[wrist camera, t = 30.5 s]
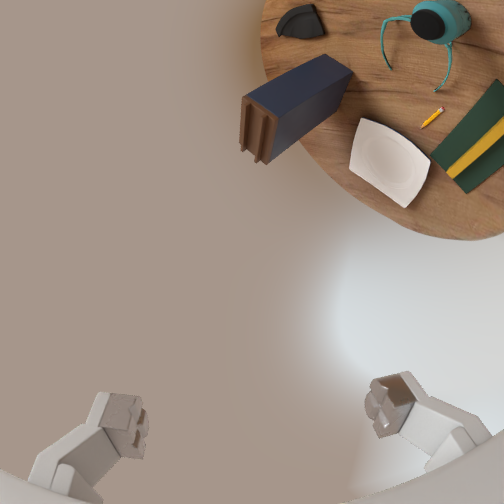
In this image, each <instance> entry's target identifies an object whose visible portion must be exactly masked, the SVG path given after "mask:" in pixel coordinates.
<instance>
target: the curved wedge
mask: <svg viewBox="0 0 504 504" xmlns="http://www.w3.org/2000/svg"><path fill="white" fill-rule="evenodd" d="M276 32H277V34H278V36H279V37H280V36H281V35H286V36H292V37H296V38H299V39H303V38H311V37H316V36H320V35H325V31H324V28H323V25H322V22H321V20H320V18H319V16H318V14H317V12H316V10H315V7H314V4H307V5H303V6H299V7H296V8H293V9H291V10H290V11H288V12H287V13H286V14H285V15H284V16H283V17H282V18H281V19H280V21H279V23H278V25H277V27H276Z"/></svg>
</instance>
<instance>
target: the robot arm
mask: <svg viewBox="0 0 504 504" xmlns="http://www.w3.org/2000/svg"><path fill="white" fill-rule="evenodd" d="M370 388H371V391H370V392H369V393H368V394H367V396H366V399H365V410H366V413H367V415H368V417H369V418H370V419H372V420H374V423H373V427H374V429H375V431H376V433H377V435H378V437H379V438H382V437H386V436H390V435H393V434H397V433H399V435H400V436H402V437H403V438H405V439H406V440H408V441H409V442H410V443H412V444H413V445H415V446H416V447H418V448H419V449H421V450H422V451H424V452H425V453H427V454H428V455H430V456H431V458H430V460H429V461H428V462H427V463H426V465H425V467H424V469H425V471H426V474H424V475H422V476H420V477H417V478H415V479H412V480H410V481H408V482H405V483H402V484H400V485H397V486H395V487H392V488H390V489H386V490H384V491H381V492H378V493H375V494H372V495H368V496H365V497H362V498H359V499H355V500H351V501H348V502H344V503H340V504H504V429H503V430H502V431H500V432H499V433H498V434H496V435H494V436H492V435H491V434H490V432H489V431H488V430H487V428H486V427H485V426H484V424H483V423H482V422H481V420H480V419H479V418H478V417H477V416H476V415H473V414H471V413H469V412H466V411H464V410H461V409H459V408H457V407H455V406H452V405H450V404H448V403H445V402H443V401H441V400H439V399H437V398H434V397H428V395H427V394H426V392H425V391H424V390H423V388H422V387H421V386H420V384H419V383H418V382H417V380H416V379H415V378H414V376H413V375H412V374H411V372H409V371H405V372H401V373H397V374H393V375H389V376H385V377H381V378H376V379H373V381H372V382H371V384H370ZM142 405H143V402H142V400H141V397H139V396H133V395H123V394H115V393H107V392H99V393H98V394H97V396H96V398H95V401H94V403H93V405H92V408H91V411H90V413H89V416H88V418H87V421H86V423H85V424H81V425H79V426H78V427H77V428H75V429H74V430H72V431H71V432H70V433H68V434H67V435H65V436H64V437H63V438H61V439H60V440H58V441H57V442H55V443H54V444H52V445H51V446H49V447H48V448H47V449H45V450H44V451H42V452H41V453H39V454H38V456H37V458H36V461H35V463H34V466H33V468H32V471H31V474H30V476H29V478H28V481H25V480H23V479H20V478H19V477H16V476H14V475H12V474H10V473H8V472H6V471H4V470H2V469H0V504H103V498H102V497H101V496H100V495H99V494H98V493H97V492H96V491H95V490H94V489H93V488H92V487H93V486H94V485H95V484H96V483H97V482H98V481H99V480H100V479H101V478H102V477H103V476H104V475H105V474H106V473H107V472H108V471H109V470H110V469H111V468H112V467H113V466H114V464H116V463H117V462H118V460H119V459H120V458H121V457H127V458H136V459H143V457H144V451H145V446H146V444H145V442H144V440H143V438H145V437H146V436H147V435H148V429H149V428H148V427H149V421H148V416H147V413H146V411H145V410H144V409H142Z"/></svg>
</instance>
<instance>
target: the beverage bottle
mask: <svg viewBox="0 0 504 504" xmlns="http://www.w3.org/2000/svg"><path fill="white" fill-rule="evenodd" d="M471 20H472V19H471V18H470V14H469V13H468V11H467V10H466V9H465V7H464V6H462V4H460V3H458V2H456V1H453V0H438V1H436V0H435V1H423V2H420V3H419V4H417V5H416V6H415V8H414V10H413V13H412V16H411V20H410V23H411V27H412V29H413V31H414V32H415V33H416V34H417V35H418V36H419V37H421V38H423V39H425V40H428V41H430V42H432V43H435V44H447V43H450V42H451V41H453V40H454V39H455V38H457V37H459V36H460V37H461V35H462V34H463V35H464V34H465V32H467V31H468V30H469V29H470V26H471ZM457 39H458V38H457Z"/></svg>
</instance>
